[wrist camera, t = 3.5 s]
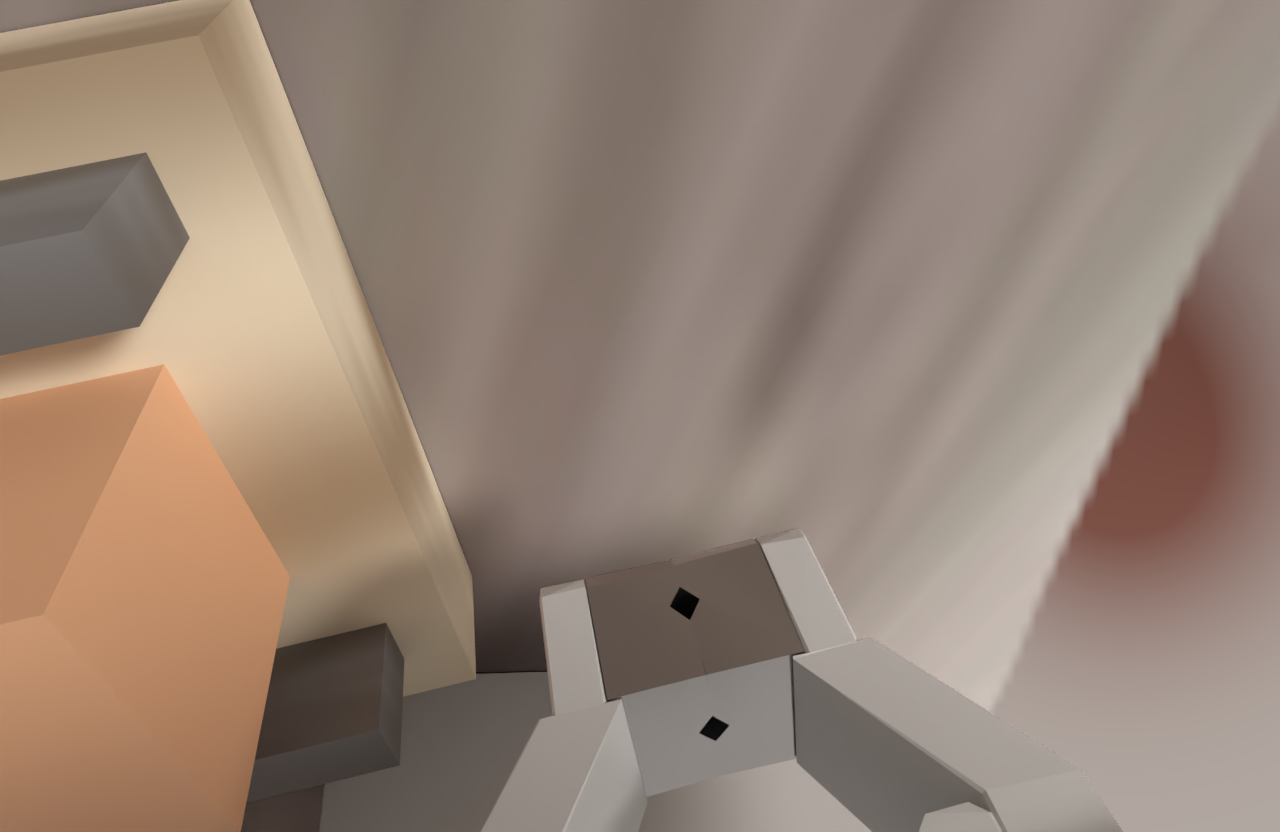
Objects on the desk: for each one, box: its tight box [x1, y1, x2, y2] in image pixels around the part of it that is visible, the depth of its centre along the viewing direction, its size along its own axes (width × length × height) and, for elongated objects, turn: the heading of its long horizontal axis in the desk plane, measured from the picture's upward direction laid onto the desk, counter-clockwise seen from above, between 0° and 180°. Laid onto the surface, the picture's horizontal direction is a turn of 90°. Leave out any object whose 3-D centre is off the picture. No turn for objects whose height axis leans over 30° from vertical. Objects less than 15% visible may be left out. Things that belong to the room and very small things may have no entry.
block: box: [0, 364, 290, 832], centre depth 10 cm, size 4×4×4 cm
